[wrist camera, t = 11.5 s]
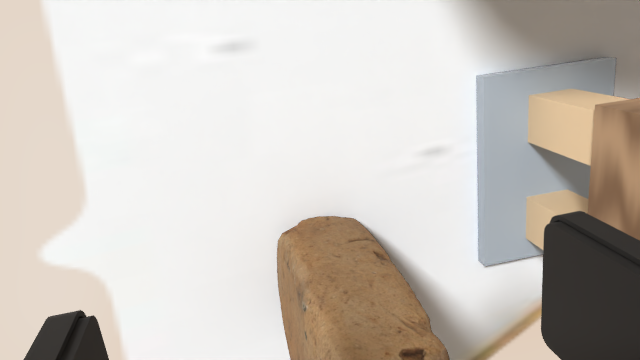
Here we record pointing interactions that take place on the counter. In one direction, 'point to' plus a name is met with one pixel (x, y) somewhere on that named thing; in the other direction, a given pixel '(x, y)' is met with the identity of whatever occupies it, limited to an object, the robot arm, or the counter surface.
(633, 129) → the beam
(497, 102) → the base
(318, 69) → the counter surface
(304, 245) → the brown rounded tall lump
